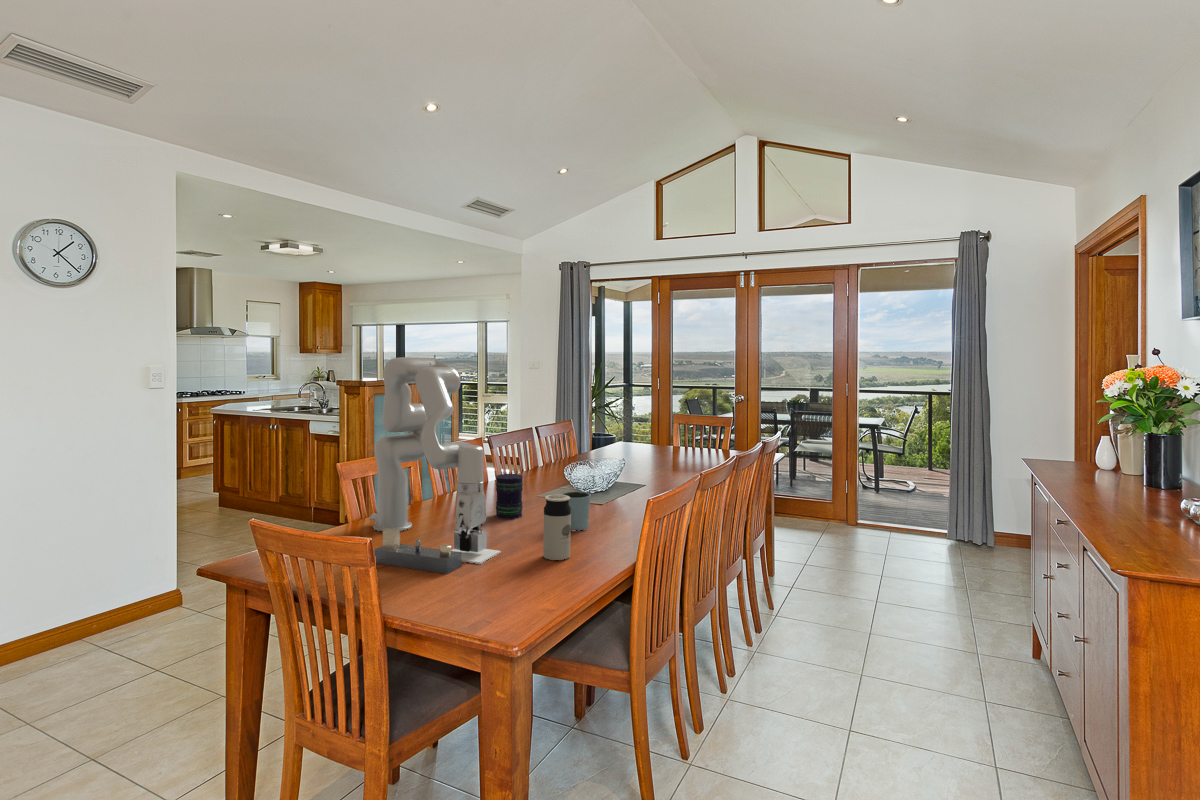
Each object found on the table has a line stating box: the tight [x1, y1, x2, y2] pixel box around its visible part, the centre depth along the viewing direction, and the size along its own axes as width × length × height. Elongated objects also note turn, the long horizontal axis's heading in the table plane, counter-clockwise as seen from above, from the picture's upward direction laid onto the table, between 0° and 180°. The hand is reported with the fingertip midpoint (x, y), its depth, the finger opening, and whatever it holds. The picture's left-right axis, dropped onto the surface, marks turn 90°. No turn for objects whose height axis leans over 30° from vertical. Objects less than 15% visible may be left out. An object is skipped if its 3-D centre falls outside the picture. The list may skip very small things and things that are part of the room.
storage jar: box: [495, 473, 524, 520], centre depth 238 cm, size 10×10×15 cm
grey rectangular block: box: [453, 529, 488, 552], centre depth 190 cm, size 8×5×5 cm, turn 70°
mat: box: [451, 548, 502, 565], centre depth 190 cm, size 14×12×1 cm
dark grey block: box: [374, 528, 463, 575], centre depth 181 cm, size 24×7×9 cm, turn 70°
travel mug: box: [542, 494, 572, 561], centre depth 190 cm, size 8×8×18 cm
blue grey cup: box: [560, 490, 592, 530], centre depth 222 cm, size 10×10×12 cm
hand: (470, 547), depth 190 cm, fingers closed on grey rectangular block, 5 cm apart
